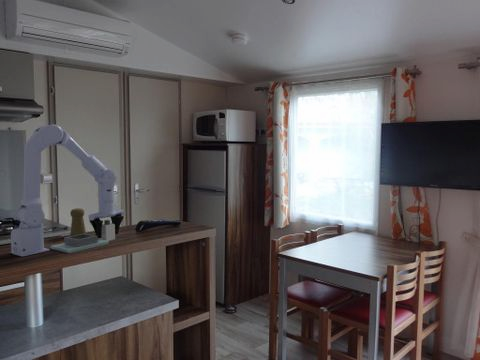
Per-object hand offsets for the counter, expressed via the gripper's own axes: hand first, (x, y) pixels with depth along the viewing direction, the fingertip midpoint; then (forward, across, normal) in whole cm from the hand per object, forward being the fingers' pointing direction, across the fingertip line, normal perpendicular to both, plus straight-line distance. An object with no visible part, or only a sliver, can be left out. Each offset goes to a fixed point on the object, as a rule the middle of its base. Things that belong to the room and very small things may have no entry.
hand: (107, 235), depth 155 cm
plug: (+2, 0, 0) cm, 2 cm away
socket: (+1, -12, -1) cm, 12 cm away
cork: (+2, -2, +16) cm, 16 cm away
